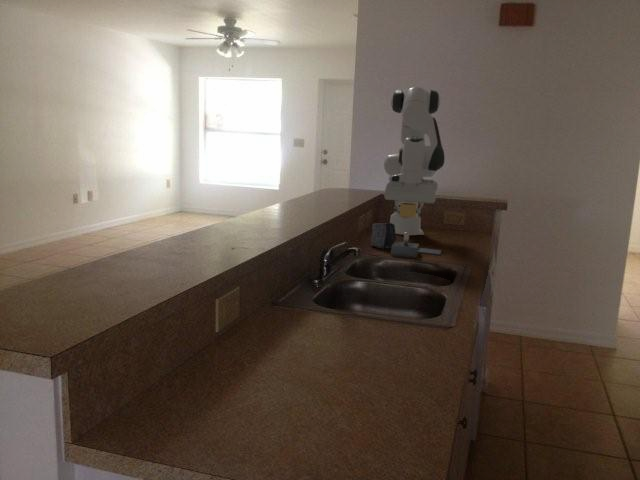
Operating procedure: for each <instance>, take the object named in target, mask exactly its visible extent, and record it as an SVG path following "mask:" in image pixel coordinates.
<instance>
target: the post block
mask: <svg viewBox="0 0 640 480" xmlns="http://www.w3.org/2000/svg"><path fill="white" fill-rule="evenodd" d="M409 238H410V235H409V232H404V235H403V240H402V241H397V240H396V241H395V242H394V243H393V244H392V248H390V249H391V250H390V256H395V257H403V258H412V259H413V258H415V259H417V257H418V255H419V253H418V252H419V249H420V248H419V247H420V244H419V243H416V242H415V243H414V242H413V243H412V242H409Z"/></svg>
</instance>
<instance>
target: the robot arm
mask: <svg viewBox="0 0 640 480" xmlns="http://www.w3.org/2000/svg"><path fill="white" fill-rule="evenodd" d="M390 105H391V108H392V111H393V112H394V113H396V114H402V120H401V130H400V131H401V132H400V141H401V144H402V145H403V146H402V147H400V148H399V149H398V152H399V153H391V154H388V155H387V156H386V157H385V159H384V162H383V168H384V171H385V173H387V175H389V177H388V183H386V186H385V190H384V195H383V197H384V199H385V200H387V201H388V200H389V201H394V208H393V209H394V212H393V213H392V214H391V215H390V220H389V223H392V224H394V226H395V235H401V236H402V235H403V236H404V232H409V236H422V235H423V236H424V235H425V234H424V231H423V230H422V229H421V228H422V224H421V220H422V218H421V216H420V214H421V210H422V208H423V207H424V205H425V204H434V203H435V202H436V191H437V190H438V183H437V181H436V180H435V179H426V178H432V177H433V176H434V175H435V174H436V173H437V171H438V170H439V171H440V169H441V168H443V167H444V164H445V160H446V157H445V151H444V148H443V145H442V141H441V135H440V131H439V130H440V129H439V126H438V122H437V119H436V118H435V117H433V116H432V114H435V113H436V112H438V109H440V105H441V98H440V94H439V93H438V91H437V90H433V89H430V90H428V89H424V88H423V87H420V86H413V87H411V88H409V89H397V90H395V91H394V92H393V94H392V95H391V98H390ZM425 135H426V136H427V137H428V138H429V143H430V145H426V143H425ZM402 202H405V203H417V204H418V209H417V212H416V213H417V216H416V218H410V217H400V216H399V213H400V204H401V203H402Z"/></svg>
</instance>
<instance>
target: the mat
mask: <svg viewBox="0 0 640 480" xmlns="http://www.w3.org/2000/svg"><path fill="white" fill-rule="evenodd" d="M418 254H423V255H433V256H441V255H442V249H435V248H434V249H433V248H425V247H424V248H423V247H420V248H419V250H418Z"/></svg>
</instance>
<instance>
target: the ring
mask: <svg viewBox="0 0 640 480" xmlns="http://www.w3.org/2000/svg"><path fill="white" fill-rule="evenodd" d="M418 206H419V203H418V204H417V203H405V202H402V203H401V204H400V213H399V216H400V217H410V218H416V216H417V213H416V212H417V209H418Z"/></svg>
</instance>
